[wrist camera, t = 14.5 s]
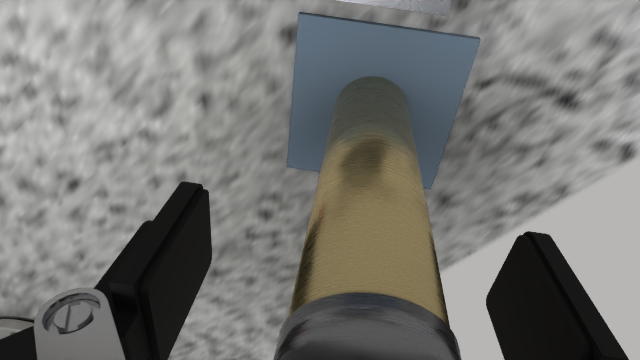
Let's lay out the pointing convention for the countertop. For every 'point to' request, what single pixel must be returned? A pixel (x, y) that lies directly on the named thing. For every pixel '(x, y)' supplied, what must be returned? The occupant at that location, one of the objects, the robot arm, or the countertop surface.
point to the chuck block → (411, 5)
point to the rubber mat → (382, 61)
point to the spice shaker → (369, 243)
